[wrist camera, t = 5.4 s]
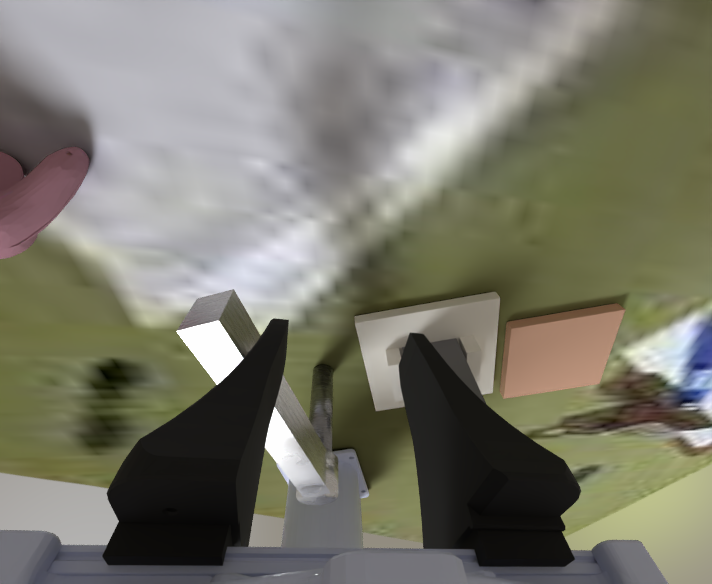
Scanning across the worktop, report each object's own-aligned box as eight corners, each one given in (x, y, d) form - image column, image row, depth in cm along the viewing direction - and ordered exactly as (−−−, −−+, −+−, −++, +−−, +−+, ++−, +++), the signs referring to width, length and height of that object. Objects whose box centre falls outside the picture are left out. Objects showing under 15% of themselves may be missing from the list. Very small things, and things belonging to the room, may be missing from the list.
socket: (488, 385, 28) (530, 469, 22) (327, 411, 29) (325, 498, 23) (495, 291, 23) (552, 368, 17) (295, 326, 23) (281, 412, 17)
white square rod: (243, 286, 13) (229, 318, 11) (342, 467, 21) (343, 501, 19) (187, 301, 13) (166, 333, 11) (307, 473, 21) (304, 508, 19)
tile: (592, 376, 28) (599, 383, 27) (499, 391, 29) (503, 398, 28) (617, 303, 24) (625, 309, 23) (506, 321, 24) (511, 328, 24)
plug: (456, 374, 26) (485, 445, 21) (407, 382, 26) (423, 454, 21) (456, 338, 24) (487, 407, 19) (402, 347, 24) (419, 418, 19)
